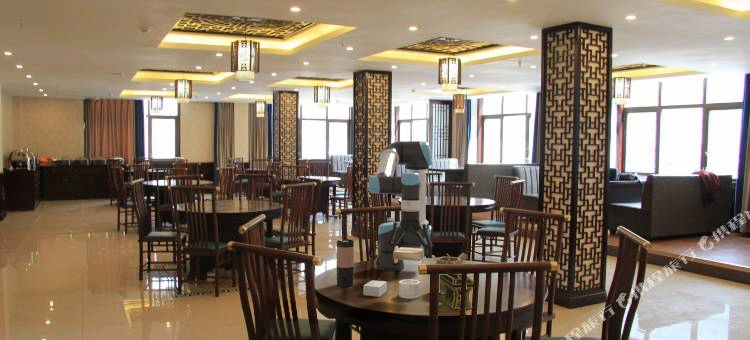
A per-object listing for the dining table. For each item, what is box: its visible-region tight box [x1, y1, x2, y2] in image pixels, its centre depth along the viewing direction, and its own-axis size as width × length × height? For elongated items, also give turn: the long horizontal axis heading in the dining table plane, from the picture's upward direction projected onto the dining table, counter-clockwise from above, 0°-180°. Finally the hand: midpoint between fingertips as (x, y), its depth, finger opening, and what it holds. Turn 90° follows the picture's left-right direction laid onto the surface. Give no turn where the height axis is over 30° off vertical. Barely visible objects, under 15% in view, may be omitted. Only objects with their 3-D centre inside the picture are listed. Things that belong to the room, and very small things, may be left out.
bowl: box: [398, 278, 421, 300], centre depth 233 cm, size 9×9×6 cm
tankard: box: [435, 252, 467, 294], centre depth 244 cm, size 20×13×15 cm, turn 136°
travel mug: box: [336, 238, 355, 288], centre depth 251 cm, size 8×8×20 cm
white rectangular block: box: [363, 279, 388, 298], centre depth 238 cm, size 10×7×4 cm
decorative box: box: [440, 253, 474, 310], centre depth 222 cm, size 20×10×20 cm, turn 13°
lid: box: [393, 247, 422, 262], centre depth 232 cm, size 11×11×3 cm
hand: (409, 263), depth 232 cm, fingers closed on lid, 11 cm apart
